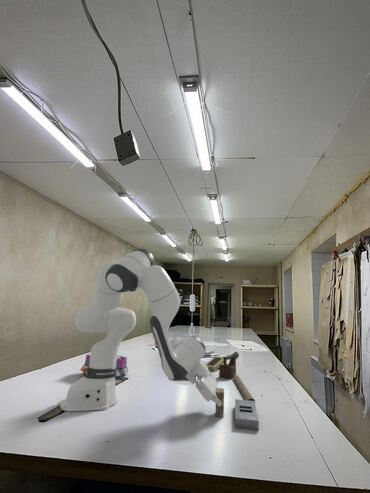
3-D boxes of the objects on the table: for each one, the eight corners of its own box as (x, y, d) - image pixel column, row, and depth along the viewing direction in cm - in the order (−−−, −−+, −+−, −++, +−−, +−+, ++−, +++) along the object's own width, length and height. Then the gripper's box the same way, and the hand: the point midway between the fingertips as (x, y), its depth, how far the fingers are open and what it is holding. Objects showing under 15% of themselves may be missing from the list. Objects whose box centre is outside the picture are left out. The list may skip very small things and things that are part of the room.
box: (225, 364, 207) (225, 357, 207) (214, 376, 187) (213, 368, 187) (214, 363, 210) (213, 356, 210) (201, 375, 190) (201, 367, 190)
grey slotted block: (235, 427, 105) (235, 418, 105) (235, 406, 126) (235, 399, 127) (258, 430, 104) (258, 420, 104) (254, 408, 125) (254, 401, 125)
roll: (239, 380, 172) (239, 375, 173) (256, 406, 130) (256, 398, 130) (232, 380, 172) (232, 374, 173) (247, 405, 130) (247, 398, 130)
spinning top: (103, 382, 150) (108, 351, 154) (68, 374, 165) (73, 345, 169) (138, 378, 172) (141, 350, 176) (104, 371, 186) (107, 346, 190)
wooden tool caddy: (242, 375, 184) (242, 352, 186) (230, 379, 171) (230, 355, 174) (230, 373, 188) (231, 351, 191) (218, 377, 176) (218, 353, 179)
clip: (215, 417, 114) (215, 391, 116) (216, 411, 119) (216, 387, 121) (223, 417, 114) (223, 392, 115) (223, 412, 119) (224, 388, 121)
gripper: (200, 373, 111) (226, 404, 107) (205, 363, 130) (227, 388, 127) (188, 385, 110) (213, 416, 107) (195, 373, 130) (217, 399, 127)
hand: (221, 401), depth 117 cm, fingers open, 7 cm apart
